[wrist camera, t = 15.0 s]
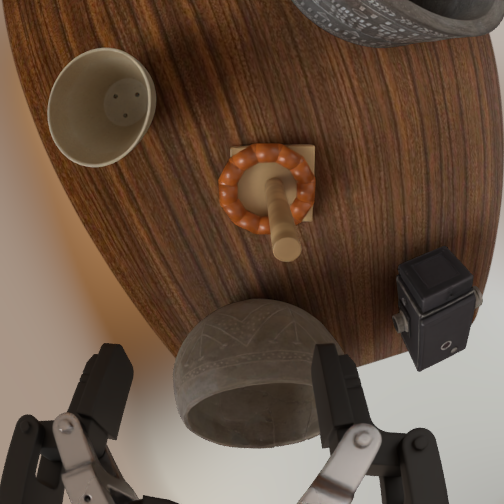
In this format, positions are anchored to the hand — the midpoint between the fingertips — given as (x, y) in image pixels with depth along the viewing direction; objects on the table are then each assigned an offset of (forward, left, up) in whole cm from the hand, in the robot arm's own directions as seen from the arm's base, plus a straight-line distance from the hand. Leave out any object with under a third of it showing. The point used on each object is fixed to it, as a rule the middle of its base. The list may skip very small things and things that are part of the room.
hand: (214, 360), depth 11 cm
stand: (+4, 0, -21) cm, 21 cm away
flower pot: (-10, +10, -21) cm, 26 cm away
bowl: (+2, -21, -21) cm, 30 cm away
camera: (+24, -14, -21) cm, 35 cm away
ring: (+3, 0, -19) cm, 19 cm away
